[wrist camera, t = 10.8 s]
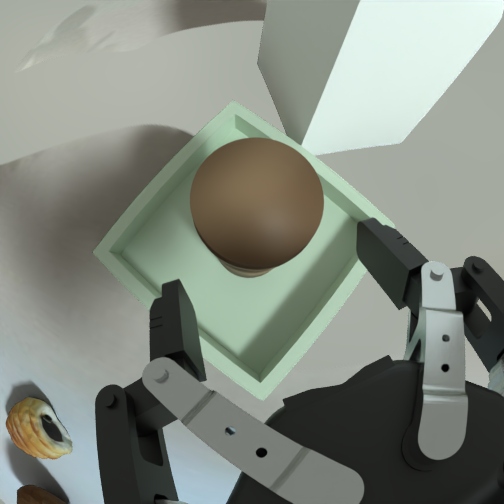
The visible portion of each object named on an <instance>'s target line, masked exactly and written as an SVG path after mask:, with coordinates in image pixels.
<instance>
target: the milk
mask: <svg viewBox="0 0 504 504" xmlns="http://www.w3.org/2000/svg"><path fill="white" fill-rule="evenodd" d="M503 10H504V0H267V6H266V12H265V18H264V25H263V31H262V37H261V43H260V50H259V57H258V63H257V64H258V66H259V69H260V71H261V73H262V75H263V78H264V80H265V82H266V85H267V87H268V89H269V92H270V94H271V97H272V99H273V101H274V104H275V106H276V109H277V111H278V114H279V116H280V119H281V121H282V124H283V127H284V129H285V131H286V134H287V136H288V137H289V138H291V139H292V140H294V141H295V142H296V143H298V144H299V145H300V146H302V147H303V148H304V149H306V150H307V151H308V152H310V153H311V154H312V155H314V156H315V155H321V154H327V153H333V152H338V151H345V150H352V149H359V148H366V147H373V146H381V145H390V144H398V143H401V142H402V141H403V140H404V139H405V138H406V137H407V136H408V134H409V133H410V132H411V131H412V130H413V128H414V127H415V126H416V125H417V124H418V123H419V121H420V120H421V119H422V118H423V117H424V116H425V115H426V113H427V112H428V111H429V110H430V109H431V107H432V106H433V105H434V104H435V103H436V102H437V100H438V99H439V98H440V97H441V95H442V94H443V93H444V92H445V91H446V89H447V88H448V87H449V86H450V85H451V83H452V82H453V81H454V80H455V78H456V77H457V76H458V75H459V74H460V72H461V71H462V70H463V68H464V67H465V66H466V65H467V64H468V62H469V61H470V60H471V58H472V57H473V56H474V55H475V53H476V52H477V51H478V49H479V48H480V46H482V44H483V43H484V42H485V40H486V39H487V38H488V36H489V35H490V34H491V32H492V31H493V30H494V28H495V27H496V26H497V24H498V23H499V21H500V19H501V17H502V13H503Z"/></svg>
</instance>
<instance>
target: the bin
mask: <svg viewBox="0 0 504 504" xmlns="http://www.w3.org/2000/svg"><path fill="white" fill-rule="evenodd" d="M254 137H260V138H268V139H272V140H276V141H279V142H282V143H284V144H286V145H288V146H290V147H292V148H294V149H295V150H297V151H298V152H299V153H300V154H302V155H303V156H304V157H305V158H306V159H307V160H308V161H309V162H310V164H311V165H312V166H313V168H314V169H315V171H316V173H317V175H318V177H319V179H320V182H321V185H322V189H323V194H324V210H323V216H322V219H321V222H320V225H319V227H318V229H317V231H316V233H315V235H314V236H313V238H312V239H311V241H310V242H309V243H308V245H307V246H306V247H305V248H304V249H303V251H302V252H301V253H299V254H298V255H297V256H296V257H294V258H293V259H291V260H290V261H288V262H286V263H285V264H283V265H280V266H278V267H275V268H274V269H272V270H271V271H269V272H268V273H266V274H264V275H262V276H259V277H255V278H243V277H239V276H236V275H234V274H232V273H230V272H229V271H228V270H227V269H226V268H225V267H224V266H223V265H222V264H221V263H220V261H219V260H218V258H217V257H216V256H215V255H214V254H213V253H211V252H210V251H209V249H208V248H207V247H206V246H205V244H204V243H203V242H202V240H201V238H200V237H199V235H198V233H197V231H196V228H195V226H194V222H193V218H192V214H191V209H190V191H191V185H192V182H193V179H194V176H195V174H196V172H197V170H198V169H199V167H200V166H201V164H202V163H203V162H204V160H205V159H206V158H207V157H208V156H209V155H210V154H211V153H213V152H214V151H215V150H217V149H218V148H220V147H221V146H223V145H225V144H227V143H230V142H232V141H235V140H239V139H243V138H254ZM372 217H374V218H376V219H377V220H378V221H379V222H380V223H381V224H382V225H388V226H390V227H392V228H395V225H394V224H393V223H392V222H391V221H390V220H389V219H388V218H387V217H386V216H385V215H384V214H382V213H381V212H380V211H379V210H378V209H377V208H376V207H375V206H374V205H373V204H372V203H370V202H369V201H368V200H367V199H366V198H365V197H364V196H363V195H361V194H360V193H359V192H358V191H357V190H356V189H354V188H353V187H352V186H351V185H350V184H348V183H347V182H346V181H345V180H343V178H341V177H340V176H339V175H338V174H336V173H335V172H334V171H333V170H331V169H330V168H329V167H328V166H326V165H325V164H324V163H323V162H321V161H320V160H319V159H318V158H316V157H315V156H314V155H312V154H311V153H310V152H308V151H307V150H306V149H304V148H303V147H302V146H300V145H299V144H298V143H296V142H295V141H294V140H292V139H291V138H289V137H288V136H287V135H285V134H284V133H282V132H281V131H279V130H278V129H277V128H275V127H274V126H272V125H271V124H269V123H268V122H266V121H265V120H263V119H262V118H261V117H259V116H258V115H256V114H254V113H253V112H251V111H250V110H248V109H247V108H245V107H244V106H242V105H241V104H239V103H237V102H236V101H232V102H231V103H230V104H229V105H228V106H227V107H225V108H224V109H223V110H222V111H221V112H220V113H219V114H218V115H217V116H215V117H214V118H213V119H212V120H211V121H210V122H209V123H208V124H207V125H206V126H205V127H203V128H202V129H201V130H200V131H199V132H198V133H197V134H196V135H195V136H194V137H193V138H192V139H191V140H190V141H189V142H188V143H187V144H186V145H185V146H184V147H183V148H182V149H181V150H180V151H179V152H178V153H177V154H176V155H175V156H174V157H173V158H172V159H171V160H170V161H169V162H168V163H167V164H166V165H165V166H164V167H163V168H162V170H161V171H160V172H159V173H158V174H157V175H156V176H155V177H154V178H153V179H152V180H151V181H150V183H149V184H148V185H147V186H146V187H145V188H144V189H143V190H142V192H141V193H140V194H139V195H138V196H137V197H136V198H135V200H134V201H133V202H132V203H131V204H130V206H129V207H128V208H127V209H126V210H125V212H124V213H123V214H122V215H121V216H120V218H119V219H118V220H117V221H116V223H115V224H114V225H113V226H112V228H111V229H110V230H109V231H108V233H107V234H106V235H105V237H104V238H103V239H102V240H101V242H100V243H99V244H98V246H97V247H96V248H95V250H94V251H93V252H92V253H93V254H94V255H95V256H96V257H97V258H98V259H99V261H100V262H101V263H102V264H103V265H104V266H105V267H106V268H107V269H108V270H109V271H110V272H111V273H112V274H113V275H114V276H115V277H116V278H117V279H118V280H119V281H120V282H121V283H122V284H123V285H124V286H125V287H126V288H127V289H128V290H129V291H130V292H131V293H132V294H133V295H134V296H135V297H136V298H137V299H138V300H139V301H140V302H141V303H142V304H143V305H144V306H145V307H146V308H147V309H148V310H149V311H150V308H151V306H152V303H153V301H154V299H156V298H160V297H162V284H163V283H166V282H170V281H173V280H176V279H180V281H181V283H182V285H183V287H184V289H185V291H186V293H187V294H188V296H189V298H190V300H191V302H192V304H193V307H194V310H195V314H196V319H197V326H198V332H199V339H200V345H201V351H202V357H204V358H205V359H206V360H207V361H209V362H210V363H211V364H212V365H214V366H215V367H216V368H217V369H219V370H220V371H221V372H223V373H224V374H225V375H227V376H228V377H229V378H231V379H232V380H233V381H235V382H236V383H237V384H239V385H240V386H241V387H243V388H244V389H245V390H247V391H248V392H250V393H251V394H252V395H254V396H255V397H257V398H258V399H260V400H261V401H263V400H264V399H265V398H266V397H267V396H268V395H269V394H270V393H271V392H272V391H273V390H274V388H275V387H276V386H277V385H278V384H279V383H280V382H281V381H282V379H283V378H284V377H285V376H286V375H287V374H288V373H289V371H290V370H291V369H292V368H293V367H294V366H295V364H296V363H297V362H298V361H299V360H300V359H301V357H302V356H303V355H304V354H305V352H306V351H307V350H308V349H309V348H310V346H311V345H312V344H313V342H315V340H316V339H317V338H318V337H319V335H320V334H321V333H322V331H323V330H324V329H325V328H326V326H327V325H328V324H329V322H330V321H331V320H332V318H333V317H334V316H335V314H336V313H337V312H338V311H339V309H340V308H341V307H342V305H343V304H344V302H345V301H346V300H347V298H348V297H349V296H350V294H351V293H352V291H353V290H354V288H355V287H356V286H357V284H358V283H359V281H360V280H361V278H362V277H363V276H364V274H365V273H366V271H367V269H366V268H365V266H364V265H363V264H362V263H361V262H360V260H359V258H358V255H357V252H356V241H357V224H358V222H359V221H362V220H366V219H369V218H372Z"/></svg>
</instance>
